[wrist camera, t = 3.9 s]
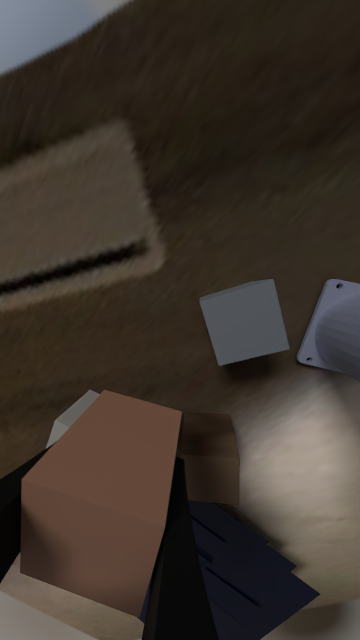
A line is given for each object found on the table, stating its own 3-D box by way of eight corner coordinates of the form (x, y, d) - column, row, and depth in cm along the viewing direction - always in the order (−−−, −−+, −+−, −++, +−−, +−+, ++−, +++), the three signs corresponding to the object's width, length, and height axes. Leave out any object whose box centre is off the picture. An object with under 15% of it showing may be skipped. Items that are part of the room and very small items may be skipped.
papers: (212, 637, 25) (211, 694, 21) (57, 509, 29) (34, 538, 25) (316, 545, 19) (338, 600, 16) (107, 402, 23) (87, 421, 20)
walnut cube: (229, 414, 19) (239, 458, 14) (228, 451, 20) (238, 505, 15) (184, 412, 19) (179, 454, 14) (186, 448, 20) (182, 499, 15)
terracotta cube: (181, 411, 10) (165, 526, 5) (165, 474, 11) (139, 618, 6) (104, 389, 10) (21, 478, 6) (96, 452, 12) (20, 572, 7)
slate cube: (250, 281, 16) (273, 279, 11) (263, 331, 17) (289, 349, 12) (199, 297, 17) (199, 301, 12) (213, 343, 17) (218, 365, 13)
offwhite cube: (127, 407, 20) (104, 443, 15) (113, 439, 21) (88, 484, 16) (90, 389, 20) (55, 420, 15) (78, 422, 21) (41, 461, 16)
